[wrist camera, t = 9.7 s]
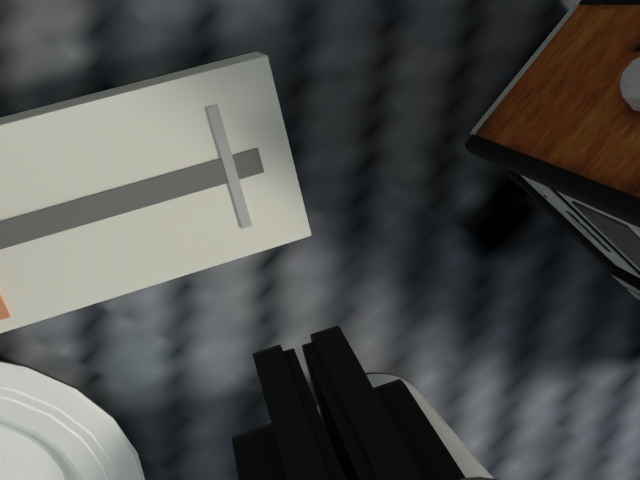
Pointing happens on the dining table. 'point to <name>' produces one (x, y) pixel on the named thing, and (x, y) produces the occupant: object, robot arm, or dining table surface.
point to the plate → (58, 432)
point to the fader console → (142, 187)
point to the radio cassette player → (578, 131)
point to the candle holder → (440, 430)
